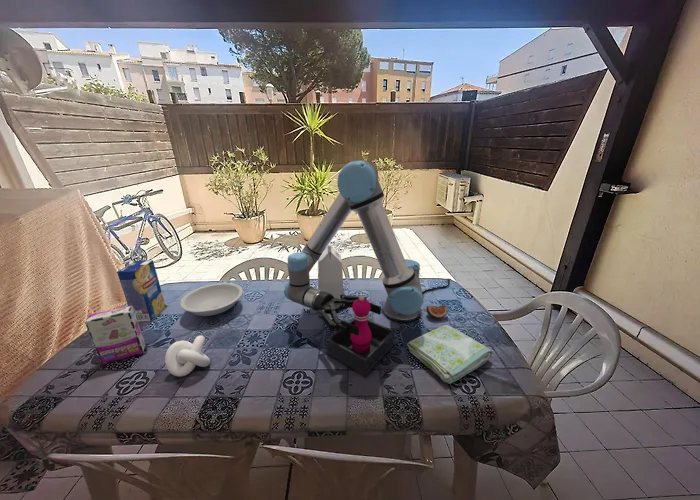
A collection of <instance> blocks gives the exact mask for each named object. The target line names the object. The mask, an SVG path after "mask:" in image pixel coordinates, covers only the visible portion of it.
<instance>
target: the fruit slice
mask: <svg viewBox="0 0 700 500" xmlns="http://www.w3.org/2000/svg"><path fill="white" fill-rule="evenodd" d="M448 309H449V307H448V305H439V306H436V305H428V306H426V313H427V314H428V315H429V316H430V317H432V318H435V319H440V318H443V317H445V316H446V315H447V314H448Z"/></svg>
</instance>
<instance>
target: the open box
mask: <svg viewBox="0 0 700 500" xmlns="http://www.w3.org/2000/svg"><path fill="white" fill-rule="evenodd" d="M348 323H350V324H353V325H355V318H354V317H353V319H351V320H350V321H348ZM367 323H368V326H369V328H370V330H371V334H372V340H371V341H370V349H369V351H367V352H365V353H357V352H355V351H354V350H353V349H352V341H351V338H350V336H351V333H350V332H348V331H347V332H345V331H343V330H341V329H340V330H339V331H336V332H334V333H333V334H332V335H330V336H329V337H328V338H326V354H327V355H328V356H330V357H332V358H333V359H335V360H337V361H339V362H340V363H342V364H343V365H345V366H347V367H349V368H350V369H352V370H353V371H355V372H356V373H359V374H360V375H363V376H364V377H366V376H367V375H368V374H369V373H370V372H371V371H372V370H373V368H374V367H375V366H377V364H378V363H379V362H380V361H381V360H382V359H383V358H384V357H385V355H387V353H388V352H390V350H391V349H392V348H393V347H394V346H395V335H396V331H395V330H394V329H392V328H389V327H387V326H385V325H382V324H380V323H378V322H376V321H373V320H371V319H369V318H368V319H367Z"/></svg>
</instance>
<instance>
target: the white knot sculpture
mask: <svg viewBox="0 0 700 500" xmlns="http://www.w3.org/2000/svg"><path fill="white" fill-rule="evenodd" d="M205 342H206V338H205V336H204V335H201V334H200V335H197V336H196V337H195V338H194V340H193V342H190V341H188V340H178V341H175V342H173V343H172V344H171V345H170V346H169V347H168V348H167V350H166V353H165V355H164V365H165V367H166V369H167V371H168V372H169V373H170V374H171V375H172V376H175V377H179V378H181V377H185V376H187V375H189V374H190V373H191V372H193V371H194V370H195V367H196V366H197V367H201V368H206V367H208V366H209V365H210V364H211V360H210V359H211V358H210V357H208V355H206V354H205V353H204V352H203V351H202V350H203V347H204V345H205Z"/></svg>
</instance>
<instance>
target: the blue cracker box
mask: <svg viewBox="0 0 700 500" xmlns="http://www.w3.org/2000/svg"><path fill="white" fill-rule="evenodd" d="M116 275H117V277H118V280H119V283H120V286H121V289H122V292H123V294H124V297H125V301H126V303H127V306H133V309H134V312H135V315H136V318H137V321H138V323H140V322H151V321H152V322H153V320H154V319H155V318H156V317H157V316H158V315H159V314H160V313H162V312H163V310H164V309H165V308H166V306H167V305H166V302H165V298H164V294H163V291H162V288H161V284H160V281H159V277H158V273H157V270H156V266H155V262H154V260H153V259H149V260H148V259H146V260H134V261H133V262H131V263H129V264H128V265H126V266H124V267H122V268H121V269H119V270H118V271H116Z"/></svg>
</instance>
